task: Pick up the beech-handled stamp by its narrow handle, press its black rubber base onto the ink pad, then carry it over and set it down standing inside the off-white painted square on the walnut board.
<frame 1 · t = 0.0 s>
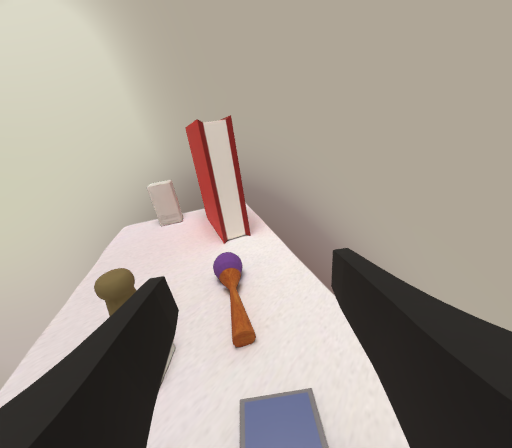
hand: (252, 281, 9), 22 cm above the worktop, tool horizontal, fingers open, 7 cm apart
skincare box: (172, 222, 85), on the worktop
ink pad: (283, 447, 20), on the worktop
cork: (136, 328, 37), on the worktop
purple maraca: (235, 301, 40), on the worktop
book: (225, 225, 74), on the worktop
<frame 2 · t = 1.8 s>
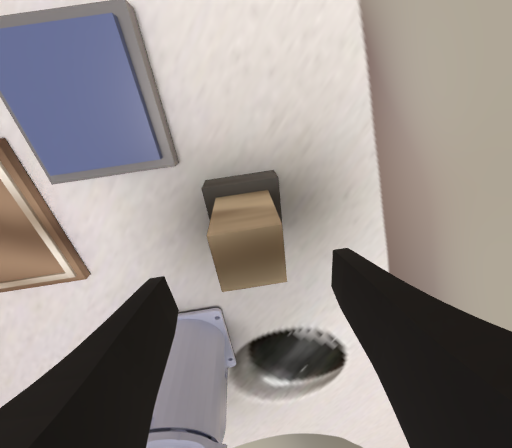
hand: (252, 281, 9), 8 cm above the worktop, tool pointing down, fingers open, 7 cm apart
ink pad: (93, 105, 13), on the worktop
stamp: (244, 206, 17), on the worktop
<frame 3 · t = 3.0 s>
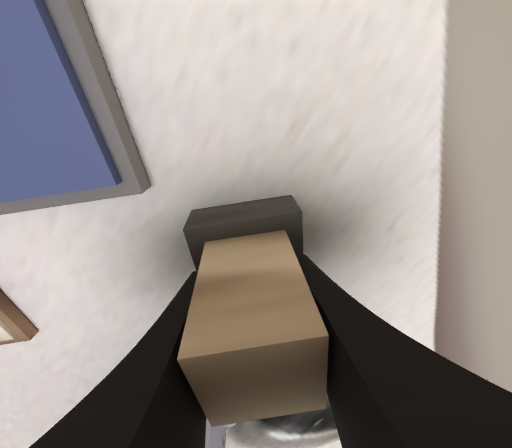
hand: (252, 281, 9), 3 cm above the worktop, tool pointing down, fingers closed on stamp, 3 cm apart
ink pad: (6, 99, 8), on the worktop
stamp: (248, 244, 12), on the worktop, touching gripper
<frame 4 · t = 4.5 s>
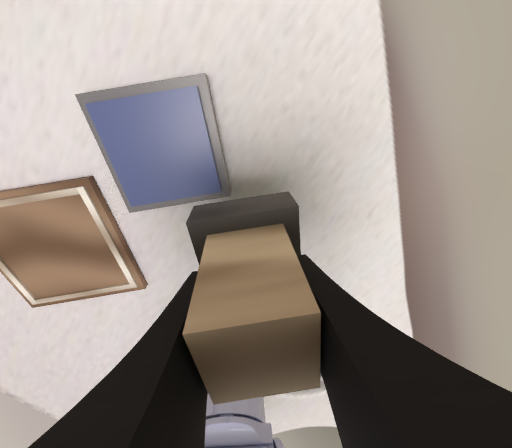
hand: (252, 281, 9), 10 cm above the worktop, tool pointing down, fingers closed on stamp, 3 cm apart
ink pad: (166, 149, 16), on the worktop
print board: (61, 247, 19), on the worktop
stamp: (248, 239, 12), point 6 cm above the worktop, touching gripper
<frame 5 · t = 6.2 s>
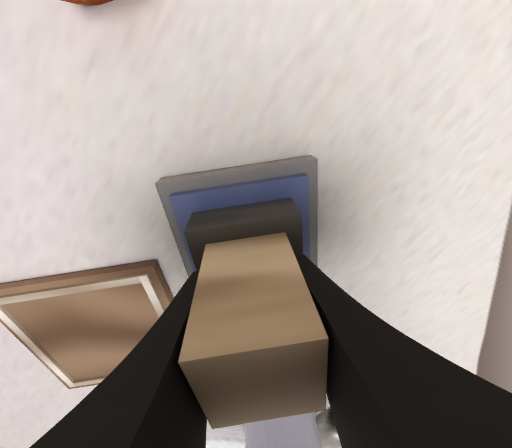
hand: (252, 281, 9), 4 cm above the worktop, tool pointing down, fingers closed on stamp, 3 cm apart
ink pad: (247, 231, 13), on the worktop
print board: (108, 329, 16), on the worktop
stamp: (249, 246, 12), point 1 cm above the worktop, touching gripper, ink pad
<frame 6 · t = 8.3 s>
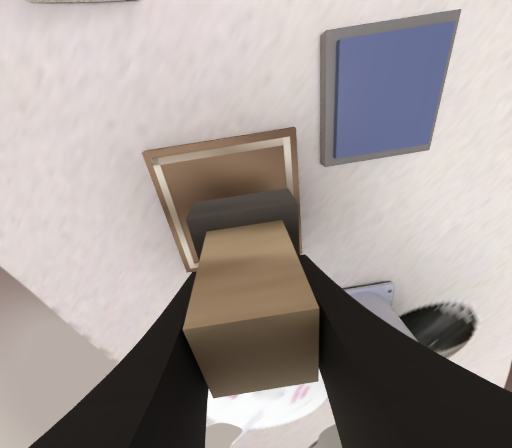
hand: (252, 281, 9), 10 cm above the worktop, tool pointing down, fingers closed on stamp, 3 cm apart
ink pad: (376, 98, 15), on the worktop
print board: (233, 207, 18), on the worktop
stamp: (247, 235, 12), point 6 cm above the worktop, touching gripper
when the fingers open (5 cm above the worktop, at t = 9.7 s): stamp stays where it is, resting on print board.
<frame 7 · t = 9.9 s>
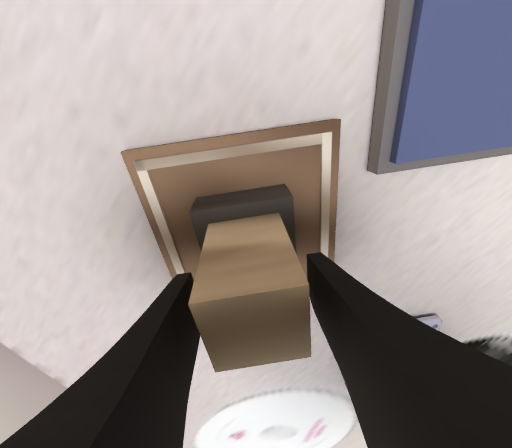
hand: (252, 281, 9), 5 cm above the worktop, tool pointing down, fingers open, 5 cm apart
ink pad: (454, 79, 11), on the worktop
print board: (247, 226, 14), on the worktop
stamp: (247, 229, 13), point 1 cm above the worktop, touching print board
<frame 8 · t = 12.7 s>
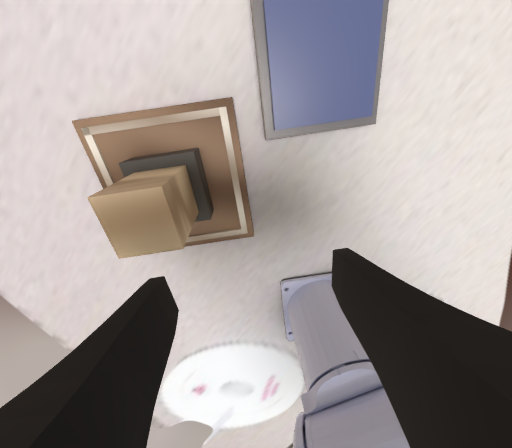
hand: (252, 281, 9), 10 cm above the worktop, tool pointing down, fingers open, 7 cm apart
ink pad: (316, 68, 15), on the worktop
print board: (177, 184, 18), on the worktop
stamp: (175, 185, 17), point 1 cm above the worktop, touching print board
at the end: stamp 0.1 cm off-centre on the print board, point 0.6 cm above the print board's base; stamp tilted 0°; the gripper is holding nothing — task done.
